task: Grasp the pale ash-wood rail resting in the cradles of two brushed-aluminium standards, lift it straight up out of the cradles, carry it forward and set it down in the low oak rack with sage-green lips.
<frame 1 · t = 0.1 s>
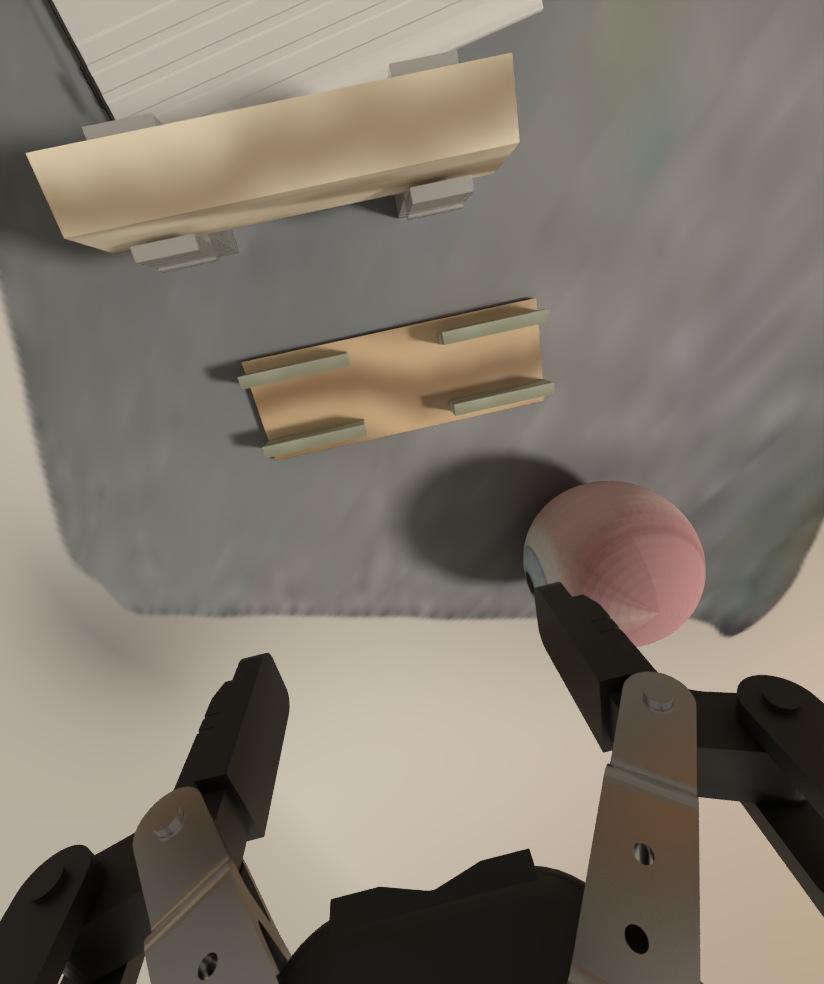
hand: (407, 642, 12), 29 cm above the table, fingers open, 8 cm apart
standard 1: (213, 234, 32), on the table
rail: (297, 178, 25), point 8 cm above the table, touching standard 2, standard 1
eyeball: (569, 525, 46), on the table
rack: (400, 381, 38), on the table
standard 2: (412, 192, 33), on the table
baseboard: (316, 28, 29), on the table
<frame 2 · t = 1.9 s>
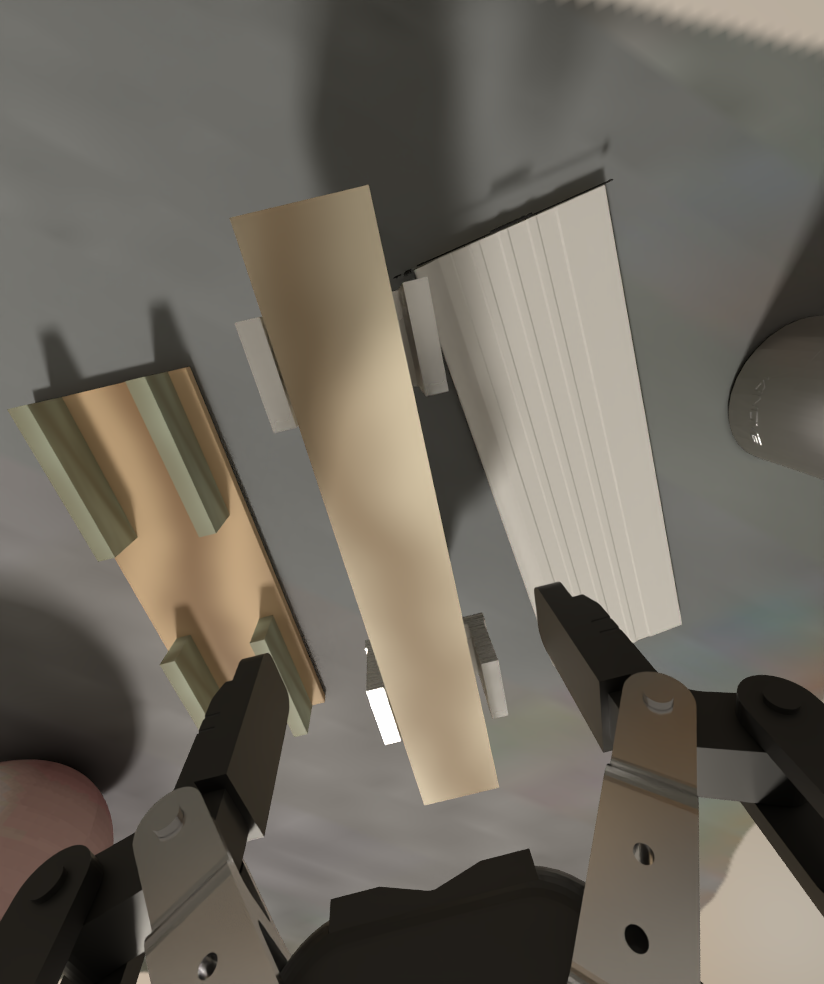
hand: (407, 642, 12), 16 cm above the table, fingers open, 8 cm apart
standard 1: (357, 345, 24), on the table
rail: (397, 530, 19), point 8 cm above the table, touching standard 2, standard 1
eyeball: (55, 777, 34), on the table
rack: (205, 575, 28), on the table
standard 2: (416, 575, 30), on the table
baseboard: (554, 477, 29), on the table
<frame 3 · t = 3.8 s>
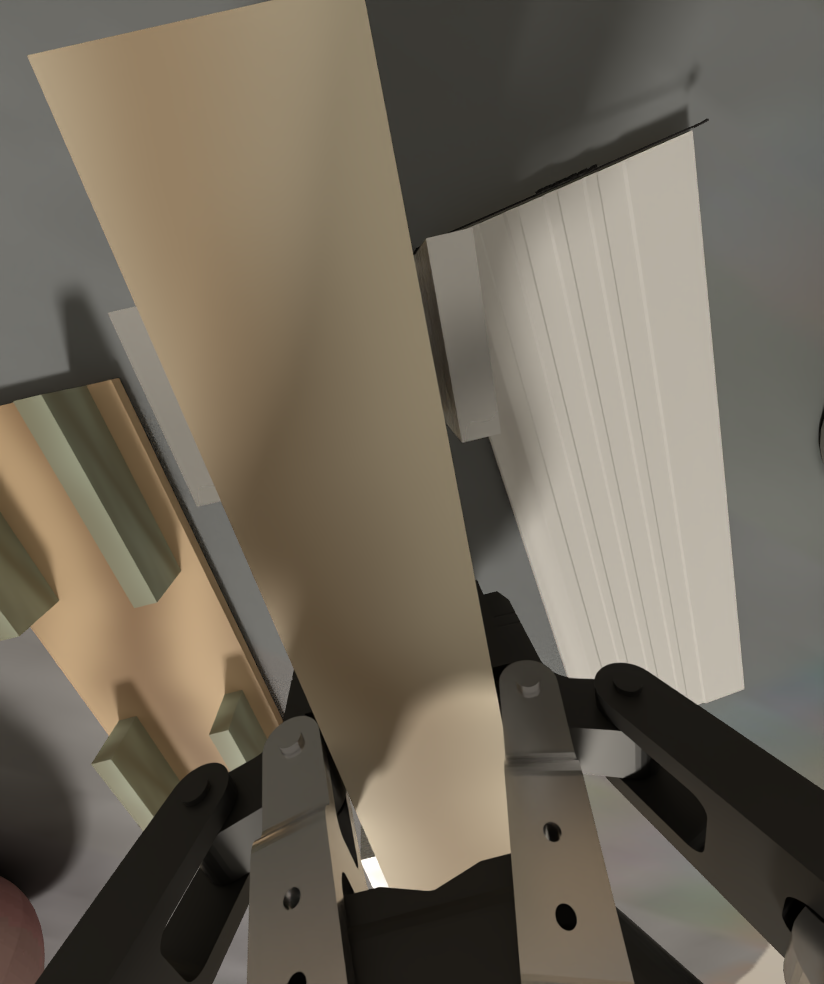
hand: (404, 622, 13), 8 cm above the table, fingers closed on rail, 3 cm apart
standard 1: (348, 349, 18), on the table
rail: (405, 621, 13), point 8 cm above the table, touching gripper, standard 2, standard 1
rack: (153, 642, 22), on the table
standard 2: (423, 637, 24), on the table
baseboard: (597, 515, 23), on the table
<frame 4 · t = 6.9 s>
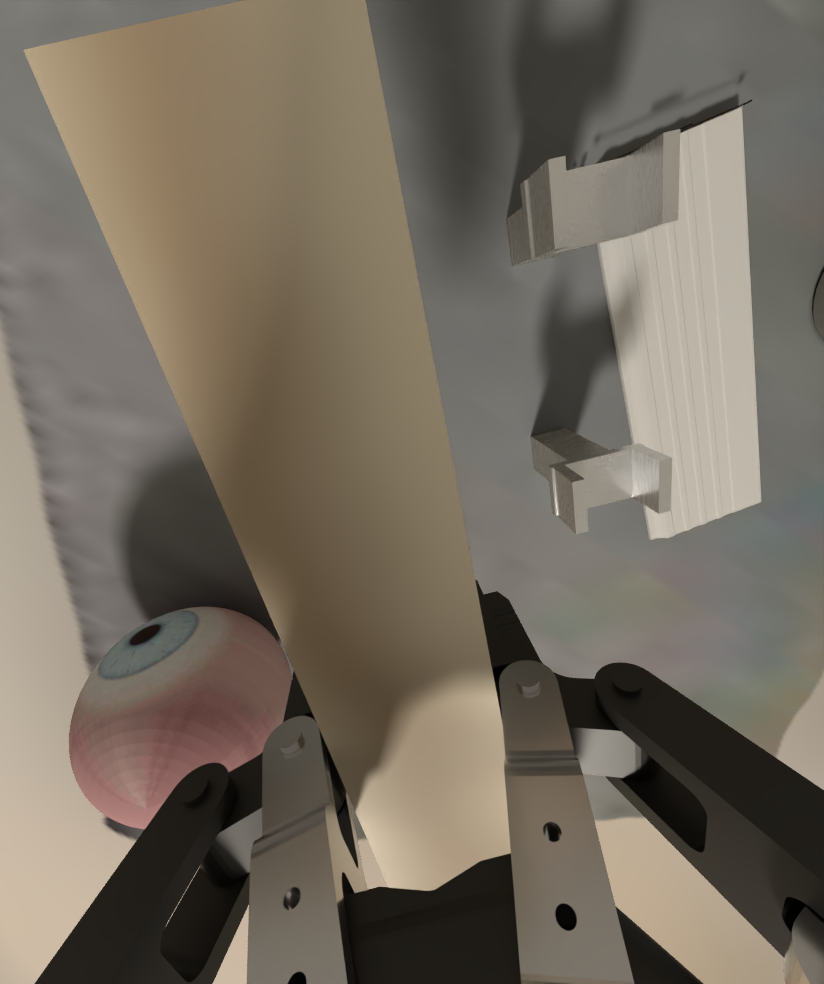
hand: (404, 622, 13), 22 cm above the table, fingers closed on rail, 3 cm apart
standard 1: (529, 238, 30), on the table
rail: (405, 621, 13), point 22 cm above the table, touching gripper
eyeball: (224, 638, 40), on the table
standard 2: (549, 448, 36), on the table
baseboard: (667, 365, 35), on the table
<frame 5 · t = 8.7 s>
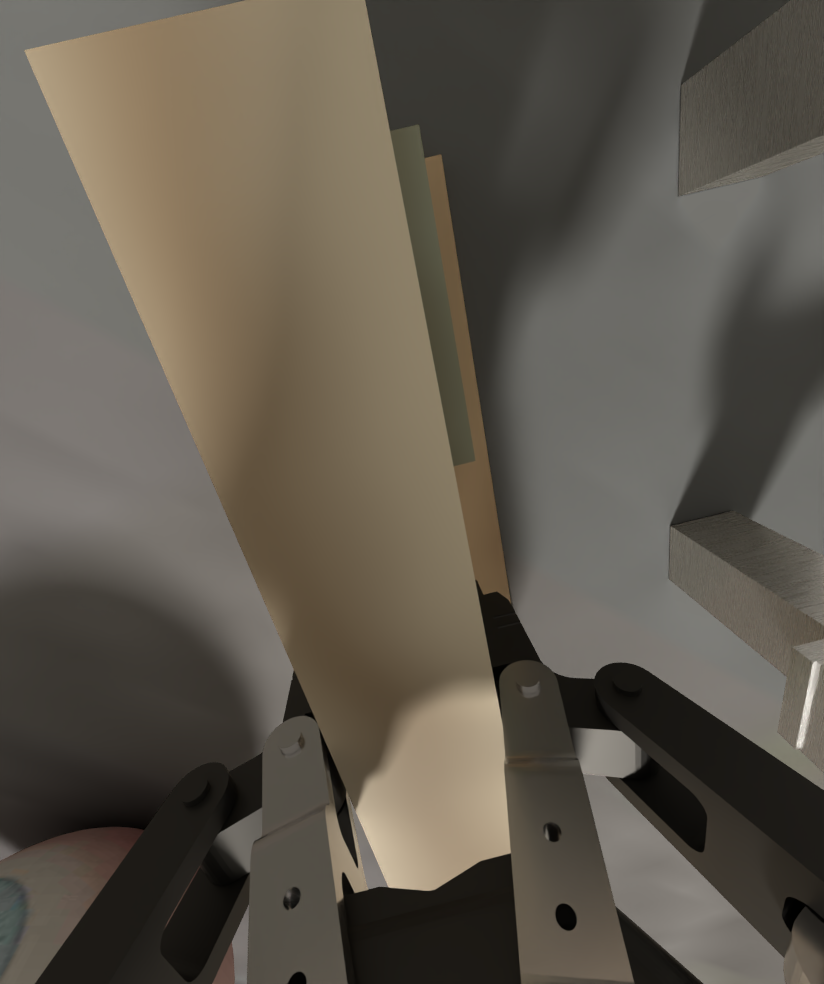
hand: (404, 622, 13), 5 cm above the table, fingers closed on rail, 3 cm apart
standard 1: (723, 132, 14), on the table
rail: (405, 620, 13), point 5 cm above the table, touching gripper
eyeball: (131, 845, 24), on the table
rack: (394, 544, 18), on the table
standard 2: (700, 545, 20), on the table
when the fingers open (1 cm above the table, at t = 10.1 s): rail stays where it is, resting on rack.
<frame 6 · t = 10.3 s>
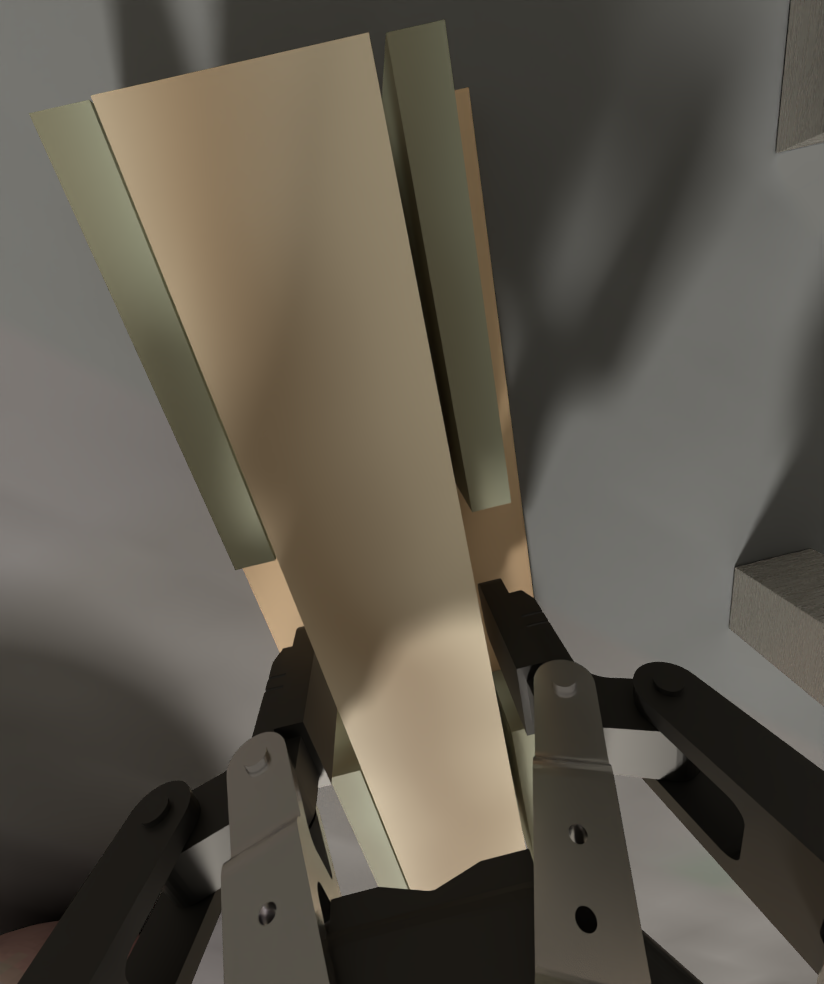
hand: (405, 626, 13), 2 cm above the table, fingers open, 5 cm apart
rail: (406, 601, 14), point 1 cm above the table, touching rack
eyeball: (90, 932, 20), on the table
rack: (400, 593, 15), on the table
standard 2: (768, 589, 16), on the table
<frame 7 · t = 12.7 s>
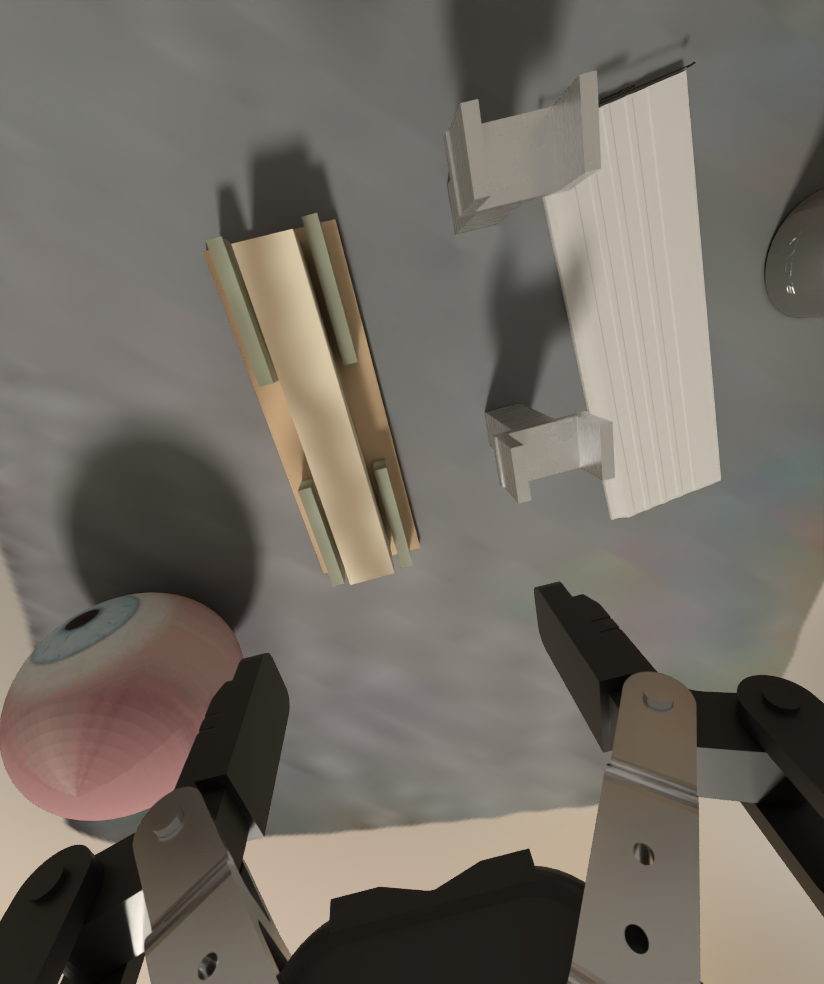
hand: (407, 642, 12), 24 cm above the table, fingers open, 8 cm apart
standard 1: (471, 205, 29), on the table
rail: (330, 421, 33), point 1 cm above the table, touching rack
eyeball: (179, 627, 39), on the table
rack: (329, 420, 33), on the table
standard 2: (504, 424, 35), on the table
baseboard: (623, 340, 34), on the table
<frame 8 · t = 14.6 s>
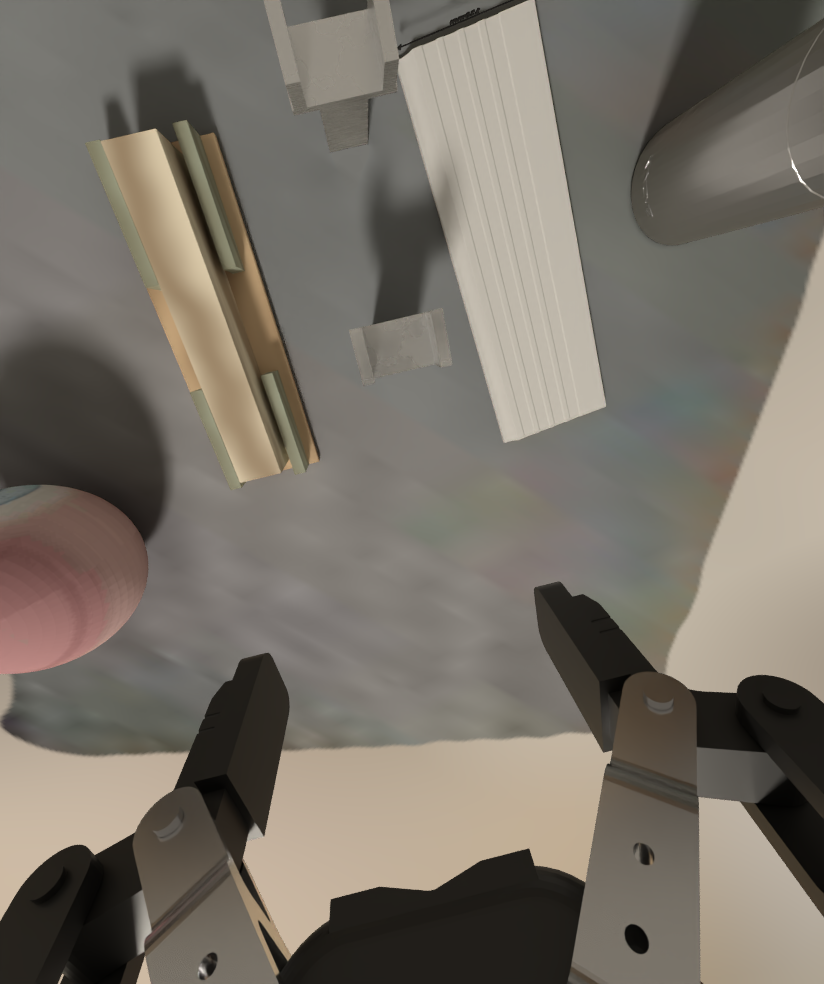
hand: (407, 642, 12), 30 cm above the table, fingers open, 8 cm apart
standard 1: (343, 124, 32), on the table
rail: (223, 331, 35), point 1 cm above the table, touching rack
eyeball: (96, 532, 41), on the table
rack: (224, 332, 36), on the table
standard 2: (392, 342, 38), on the table
baseboard: (503, 264, 37), on the table
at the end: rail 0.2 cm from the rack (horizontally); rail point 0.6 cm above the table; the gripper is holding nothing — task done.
